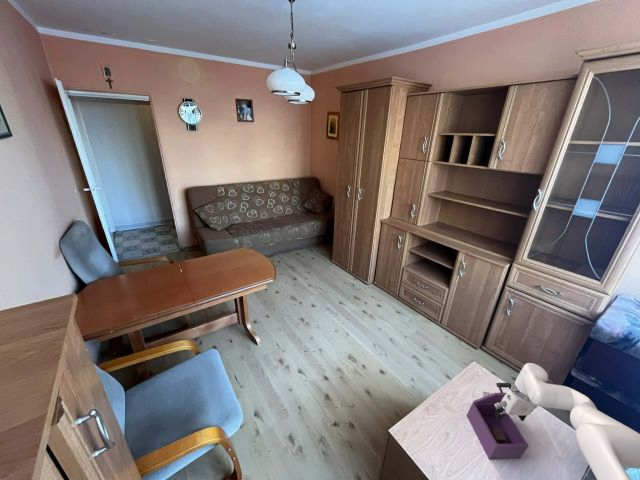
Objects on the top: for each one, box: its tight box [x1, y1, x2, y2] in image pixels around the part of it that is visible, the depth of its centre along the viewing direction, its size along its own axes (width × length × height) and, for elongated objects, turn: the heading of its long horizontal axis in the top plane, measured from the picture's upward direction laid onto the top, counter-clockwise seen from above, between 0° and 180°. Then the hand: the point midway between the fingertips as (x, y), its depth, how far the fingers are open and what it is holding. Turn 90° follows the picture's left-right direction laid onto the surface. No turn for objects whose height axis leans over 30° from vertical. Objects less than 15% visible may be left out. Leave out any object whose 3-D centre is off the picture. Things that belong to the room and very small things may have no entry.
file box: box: [466, 402, 530, 460], centre depth 118 cm, size 18×14×10 cm
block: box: [490, 429, 506, 444], centre depth 117 cm, size 4×4×4 cm
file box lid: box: [472, 382, 513, 403], centre depth 117 cm, size 19×14×5 cm
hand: (508, 417), depth 110 cm, fingers open, 9 cm apart
